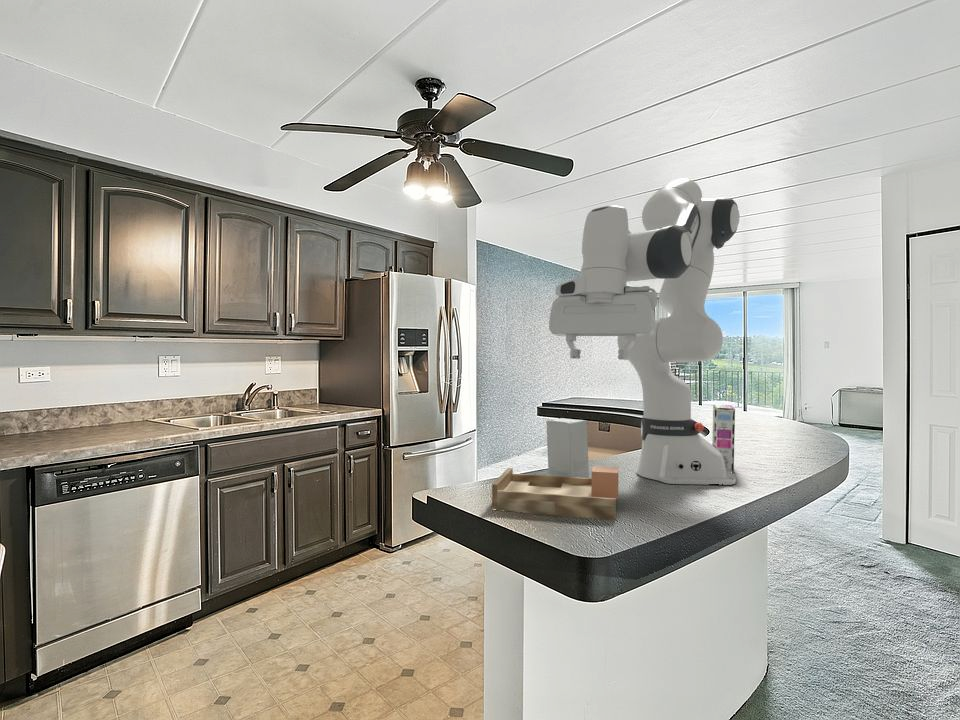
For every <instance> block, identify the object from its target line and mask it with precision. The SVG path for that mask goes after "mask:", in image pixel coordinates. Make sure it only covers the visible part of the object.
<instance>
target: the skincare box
mask: <svg viewBox="0 0 960 720" xmlns="http://www.w3.org/2000/svg"><path fill="white" fill-rule="evenodd" d="M545 422H546V438H547V439H546V442H547V444H546V445H547V448H546V449H547V470H548V472H547V473H548V475H547V476H562V477H578V478H590V470H589V469H590V467H589V466H590V465H589V449H588V447H589V446H588V445H589V443H588V423H587V422H588V421H587V420H584V419H572V418H564V417H560V418H555V419H554V418H553V419H548V420H546V421H545Z"/></svg>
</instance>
